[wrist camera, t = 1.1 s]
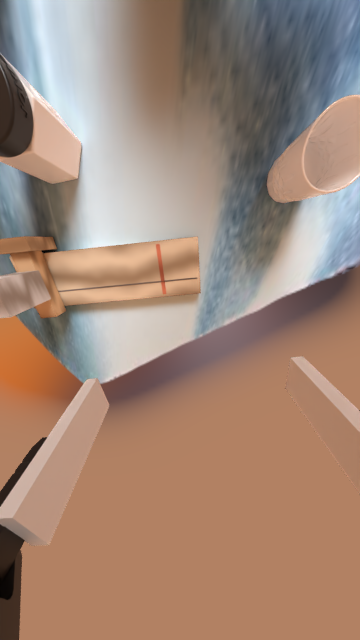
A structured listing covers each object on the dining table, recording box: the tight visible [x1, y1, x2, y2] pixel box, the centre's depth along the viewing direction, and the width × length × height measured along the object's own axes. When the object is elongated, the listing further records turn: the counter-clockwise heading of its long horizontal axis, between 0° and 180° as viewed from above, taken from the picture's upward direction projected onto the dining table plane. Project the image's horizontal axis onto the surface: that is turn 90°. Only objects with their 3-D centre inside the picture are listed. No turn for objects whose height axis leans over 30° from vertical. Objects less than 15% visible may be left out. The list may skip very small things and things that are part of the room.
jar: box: [0, 53, 81, 184], centre depth 21 cm, size 9×8×12 cm
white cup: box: [267, 95, 360, 203], centre depth 23 cm, size 8×8×10 cm
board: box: [10, 237, 200, 308], centre depth 33 cm, size 10×34×2 cm, turn 96°
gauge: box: [0, 236, 66, 318], centre depth 28 cm, size 14×6×13 cm, turn 6°
